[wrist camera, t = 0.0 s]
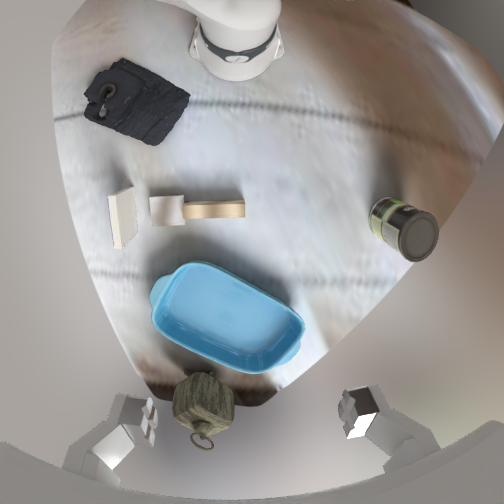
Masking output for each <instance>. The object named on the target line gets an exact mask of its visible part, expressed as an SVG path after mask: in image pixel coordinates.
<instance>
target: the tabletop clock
mask: <svg viewBox="0 0 504 504" xmlns="http://www.w3.org/2000/svg"><path fill="white" fill-rule="evenodd" d="M184 374H185V375H188V378H186V379H185V380H183V381H182V382H180V383H179V384H178V385H177V387H176V389H175V393H174V397H173V406H172V410H173V416H174V418H175V419H176V420H177V421H178V422H179V423H180V424H182V425H184V426H185V427H187V428H189V429H191V430H193V431H195V432H196V433H193V434H191V436H190V438H191V441H192V443H193V444H194V445H195V446H196V447H198V448H200V449H202V450H206V451H210V450H212V449H213V448H214V444H213V442H212V441H211V440H210V439H209V438H208V437H206V436H212V435H214V434H216V433H218V432H220V431H223V430H225V429H227V428H229V427H230V426H231V424H232V421H233V419H234V396H233V392H232V390H231V389H230V388H229V387H228V386H226V385H225V384H223V383H222V382H220V381H219V380H217V379H216V378H214V372H210V373H209V374H207V373H204V372H195V373H194V374H192V375H191V376H190V375H189V374H190V372H189V371H188V370H185V371H184ZM193 435H197V436H200V438H201V440H204V439H207V440H208V441H210V443H211V444H212V447H211V448H204V447H202V446H199V445H198V444H197V443H195V441H194V440H193V438H192V436H193Z"/></svg>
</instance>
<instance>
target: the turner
mask: <svg viewBox="0 0 504 504" xmlns="http://www.w3.org/2000/svg"><path fill="white" fill-rule="evenodd" d="M149 200H150V212H151V222H152V226H172V225H185V219H195V218H235V217H245V201H244V200H224V201H192V202H185V203H184V195H171V196H154V197H149Z"/></svg>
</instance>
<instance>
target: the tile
mask: <svg viewBox="0 0 504 504" xmlns="http://www.w3.org/2000/svg"><path fill="white" fill-rule="evenodd" d="M108 207H109V215H110V223H111V231H112V237H113V244H114V247H115V249H123V248H124V247H125V245H126V244H127V243H128V242H129V241H130V240H131V239H132V238H133V237H134V236H135V235H136V234H137V233H138V224H137V214H136V203H135V191H134V187H127V188H125V189H122V190H120V191H118V192H116V193H114V194H111V195H109V196H108Z"/></svg>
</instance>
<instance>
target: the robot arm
mask: <svg viewBox="0 0 504 504" xmlns="http://www.w3.org/2000/svg"><path fill="white" fill-rule="evenodd" d="M156 1H162V2H166V3H169V4H172V5H175V6H178V7H180V8H183V9H185V10H187V11H189V12H191V13H193V14H194V15H196V16H197V18H196V20H197V21H198V24H197V27H196V28H195V33H194V36H193V40H192V43H191V46H190V50H189V54H190V56H191V57H193V58H195V59H197V60H199V61H200V62H202V64H203V65H204V66H205V67H206V69H207V70H208V71H209V72H210V73H212V74H213V75H215V76H217V77H219V78H221V79H224V80H229V81H244V80H248V79H251V78H254V77H256V76H258V75H259V74H261V73H262V72H263V71H264V70H265V69H266V68H267V67H268V66H269V65H270V63H271V62H273V61H275V60H277V59H279V58H280V57H282V56H283V55H284V47H283V43H282V39H281V35H280V31H279V28H278V24H277V20H278V17H279V15H280V12H281V0H156ZM195 47H196V48H195ZM342 395H343V399H342V400H340V402H339V405H338V412H339V417H340V419H341V420H342V421H344V422H345V424H344V426H343V428H344V431H345V434H346V436H347V438H351V437H356V436H360V435H364V436H366V437H367V438H368V439H369V440H370V441H372V442H373V443H374V444H375V445H377V446H378V447H379V448H380V449H382V450H383V451H384V452H385V453H386V454H388V455H389V456H390V458H389V459H388V460H387V461H386V463H385V464H384V465H383V468H384V471H385V474H382V475H379V476H376V477H373V478H370V479H366V480H363V481H360V482H356V483H353V484H349V485H345V486H341V487H337V488H332V489H328V490H323V491H318V492H312V493H307V494H300V495H295V496H286V497H277V498H266V499H251V500H206V499H191V498H180V497H172V496H164V495H157V494H151V493H145V492H140V491H135V490H130V489H125V488H121V487H120V482H121V479H120V478H119V476H117V475H116V474H115V473H114V472H113V471H112V469H113V468H114V467H115V466H116V465H117V464H118V463H119V462H120V461H121V460H122V459H123V458H124V457H125V455H127V454H128V453H129V452H130V451H131V450H132V448H133V447H134V446H135V445H139V446H147V447H153V444H154V439H155V434H154V432H153V430H154V429H155V428H156V427H157V421H158V415H157V411H156V408H155V407H153V406H152V404H153V401H152V399H151V397H143V396H136V395H129V394H122V393H117V394H116V395H115V398H114V401H113V404H112V406H111V409H110V412H109V415H108V418H107V421H102V422H101V423H100V424H98V425H97V426H96V427H95V428H93V429H92V430H91V431H89V432H88V433H87V434H85V435H84V436H83V437H81V438H80V439H78V440H77V441H76V442H74V443H73V444H72V445H70V446H69V449H68V451H67V454H66V457H65V460H64V463H63V466H62V469H61V468H59V467H56V466H54V465H52V464H49V463H47V462H45V461H42V460H40V459H38V458H36V457H34V456H32V455H30V454H28V453H26V452H24V451H22V450H20V449H18V448H17V447H14V446H13V445H11V444H9V443H7V442H0V504H504V424H503V423H501V422H499V421H495V420H490V421H488V422H486V423H485V424H483V425H482V426H480V427H479V428H477V429H476V430H474V431H473V432H471V433H469V434H468V435H466V436H464V437H463V438H461V439H459V440H458V441H456V442H454V443H452V444H450V445H449V446H447V447H445V448H443V449H441V448H440V446H439V445H438V443H437V441H436V439H435V437H434V435H433V434H432V432H431V430H430V429H428V428H427V427H425V426H423V425H421V424H419V423H418V422H416V421H414V420H412V419H411V418H409V417H407V416H406V415H404V414H402V413H400V412H399V411H397V410H395V409H391V408H390V406H389V405H388V403H387V401H386V399H385V397H384V395H383V393H382V391H381V389H380V388H379V386H378V384H371V385H367V386H360V387H356V388H351V389H346V390H344V392H343V394H342Z"/></svg>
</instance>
